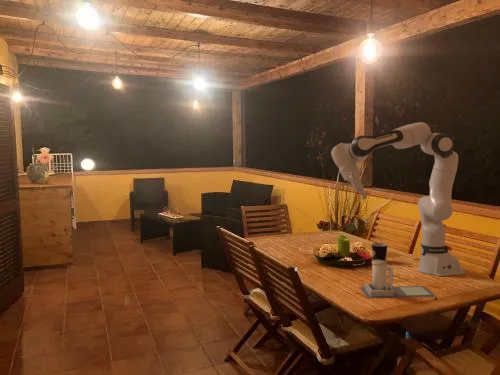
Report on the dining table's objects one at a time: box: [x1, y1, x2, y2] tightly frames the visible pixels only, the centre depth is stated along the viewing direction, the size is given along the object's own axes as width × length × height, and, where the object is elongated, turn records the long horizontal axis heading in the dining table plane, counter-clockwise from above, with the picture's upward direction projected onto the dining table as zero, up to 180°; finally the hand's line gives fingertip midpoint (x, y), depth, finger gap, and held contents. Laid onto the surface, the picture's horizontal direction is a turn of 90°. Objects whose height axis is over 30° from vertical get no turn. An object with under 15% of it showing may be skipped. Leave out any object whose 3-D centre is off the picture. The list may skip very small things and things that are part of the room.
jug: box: [371, 260, 394, 290], centre depth 188 cm, size 9×7×14 cm
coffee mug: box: [371, 242, 388, 261], centre depth 242 cm, size 12×9×10 cm
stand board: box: [359, 282, 438, 301], centre depth 190 cm, size 30×14×4 cm, turn 90°
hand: (365, 197), depth 208 cm, fingers open, 8 cm apart
